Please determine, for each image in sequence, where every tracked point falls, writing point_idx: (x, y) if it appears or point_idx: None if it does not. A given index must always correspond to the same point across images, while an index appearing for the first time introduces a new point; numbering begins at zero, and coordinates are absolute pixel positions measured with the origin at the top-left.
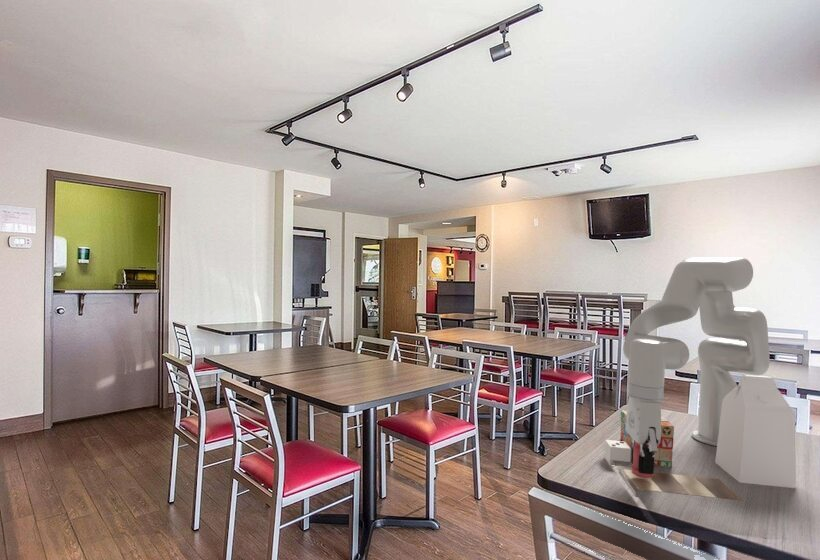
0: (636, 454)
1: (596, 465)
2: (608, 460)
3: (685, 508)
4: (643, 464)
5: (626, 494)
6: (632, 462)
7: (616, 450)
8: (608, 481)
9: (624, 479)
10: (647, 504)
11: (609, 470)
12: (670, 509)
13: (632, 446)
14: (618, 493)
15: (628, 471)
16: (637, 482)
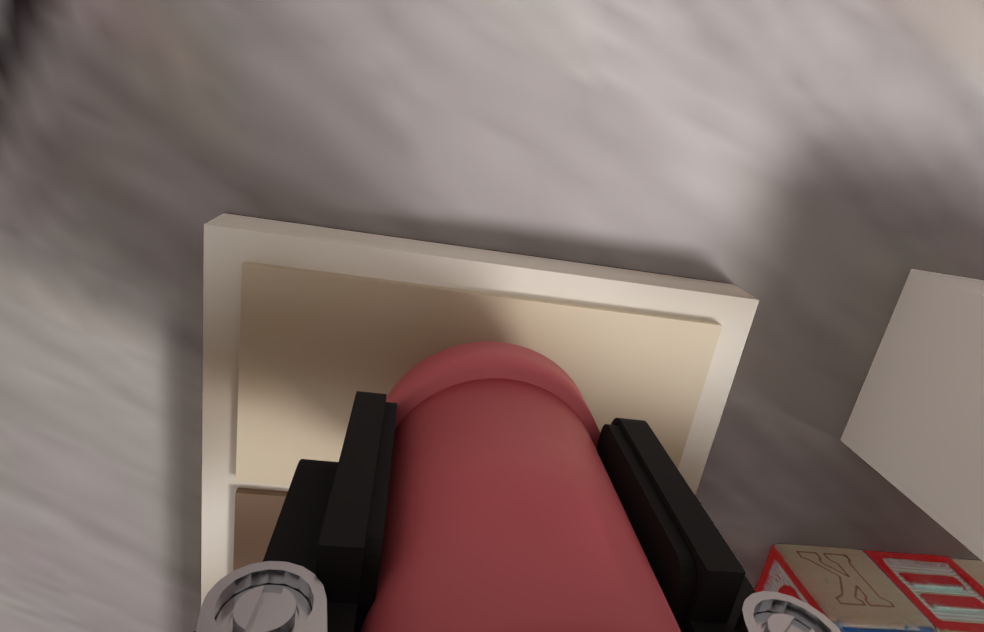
0: (456, 524)
1: (932, 116)
2: (979, 284)
3: (98, 543)
4: (301, 500)
5: (258, 138)
6: (623, 427)
7: None
8: (550, 73)
9: (568, 264)
10: (76, 259)
11: (802, 211)
12: (36, 422)
13: (779, 593)
14: (264, 53)
15: (666, 358)
16: (407, 335)
